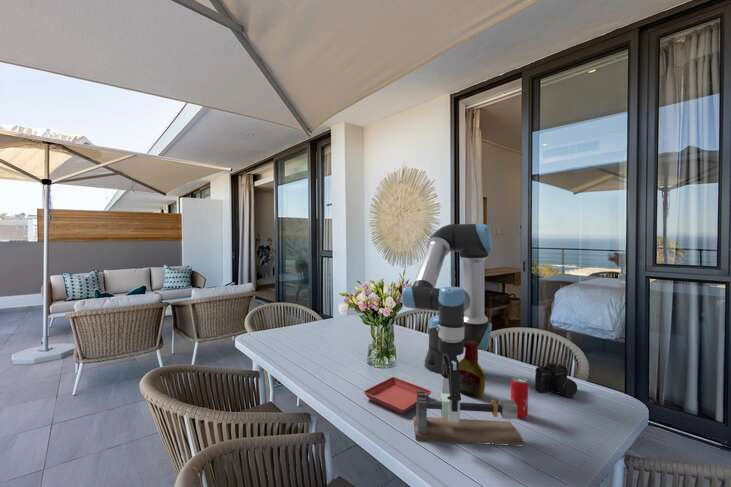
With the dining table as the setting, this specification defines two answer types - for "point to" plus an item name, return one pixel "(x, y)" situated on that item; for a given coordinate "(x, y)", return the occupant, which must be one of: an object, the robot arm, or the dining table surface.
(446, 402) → the sleeve
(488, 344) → the robot arm
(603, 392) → the dining table surface
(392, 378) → the plant saucer
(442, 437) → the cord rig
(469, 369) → the bottle
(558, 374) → the camera
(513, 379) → the beverage can
